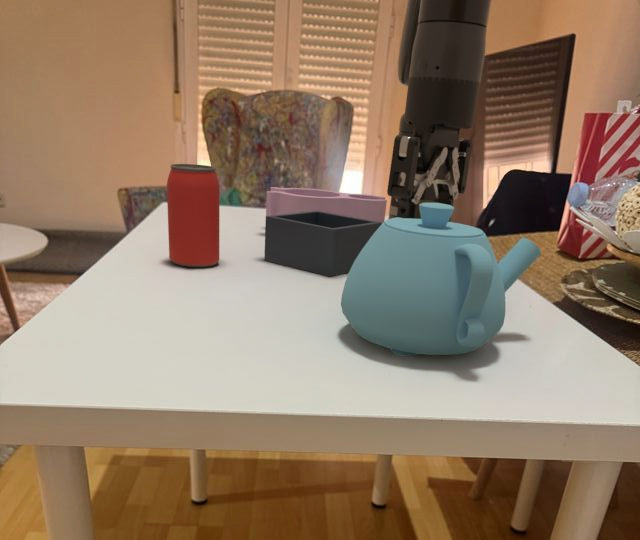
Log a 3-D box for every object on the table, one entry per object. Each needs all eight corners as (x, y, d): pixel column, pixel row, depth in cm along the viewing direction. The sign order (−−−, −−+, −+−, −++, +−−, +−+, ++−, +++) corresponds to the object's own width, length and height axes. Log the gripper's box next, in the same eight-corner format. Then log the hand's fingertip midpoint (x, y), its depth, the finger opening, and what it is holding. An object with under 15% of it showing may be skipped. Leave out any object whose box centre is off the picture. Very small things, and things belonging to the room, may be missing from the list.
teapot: (308, 312, 66) (317, 186, 61) (468, 307, 73) (489, 193, 68) (391, 384, 50) (414, 221, 44) (587, 368, 57) (627, 225, 51)
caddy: (314, 251, 96) (317, 210, 94) (377, 265, 91) (382, 222, 88) (264, 260, 88) (265, 216, 85) (330, 276, 82) (333, 229, 79)
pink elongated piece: (379, 234, 115) (383, 194, 112) (383, 247, 104) (388, 203, 100) (270, 225, 115) (272, 185, 111) (263, 237, 103) (264, 193, 100)
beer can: (193, 270, 79) (191, 169, 74) (158, 261, 83) (154, 163, 77) (229, 264, 84) (230, 168, 79) (196, 255, 88) (194, 163, 82)
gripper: (446, 71, 59) (421, 247, 66) (504, 84, 69) (477, 234, 76) (378, 69, 63) (362, 235, 70) (443, 81, 73) (423, 225, 80)
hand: (422, 234), depth 73 cm, fingers open, 8 cm apart
